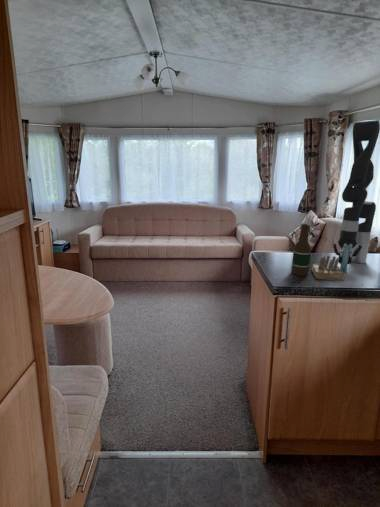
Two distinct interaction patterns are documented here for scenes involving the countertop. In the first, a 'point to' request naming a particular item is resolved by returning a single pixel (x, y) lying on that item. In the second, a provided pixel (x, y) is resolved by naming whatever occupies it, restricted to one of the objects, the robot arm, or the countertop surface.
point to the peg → (345, 259)
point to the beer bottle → (301, 253)
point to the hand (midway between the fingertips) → (344, 263)
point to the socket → (328, 269)
